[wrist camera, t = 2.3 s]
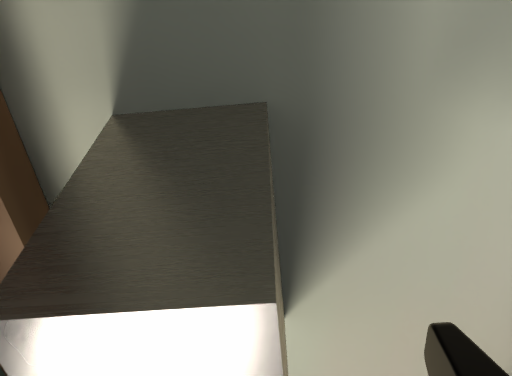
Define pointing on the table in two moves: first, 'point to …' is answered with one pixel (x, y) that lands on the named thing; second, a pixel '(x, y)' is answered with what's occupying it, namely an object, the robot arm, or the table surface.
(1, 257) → the well board
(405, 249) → the table surface
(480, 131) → the table surface
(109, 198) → the silver metal block
